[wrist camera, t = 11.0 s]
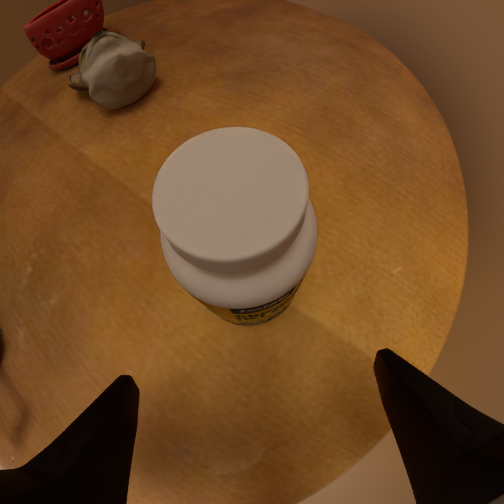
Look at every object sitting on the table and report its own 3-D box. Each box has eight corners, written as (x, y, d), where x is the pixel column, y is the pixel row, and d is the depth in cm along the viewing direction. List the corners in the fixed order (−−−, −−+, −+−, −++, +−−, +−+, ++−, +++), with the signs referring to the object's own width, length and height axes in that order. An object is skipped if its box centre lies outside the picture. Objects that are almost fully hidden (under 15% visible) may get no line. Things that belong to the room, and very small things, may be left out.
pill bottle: (248, 347, 17) (220, 344, 7) (182, 278, 19) (95, 193, 8) (317, 277, 18) (375, 183, 8) (249, 216, 20) (233, 88, 9)
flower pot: (127, 37, 32) (106, -20, 21) (57, 84, 29) (25, 30, 18) (101, 28, 35) (83, -16, 24) (45, 68, 33) (19, 25, 21)
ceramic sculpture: (56, 77, 15) (48, 48, 20) (97, 141, 23) (74, 93, 28) (168, 15, 17) (122, 5, 22) (188, 85, 25) (140, 53, 30)
